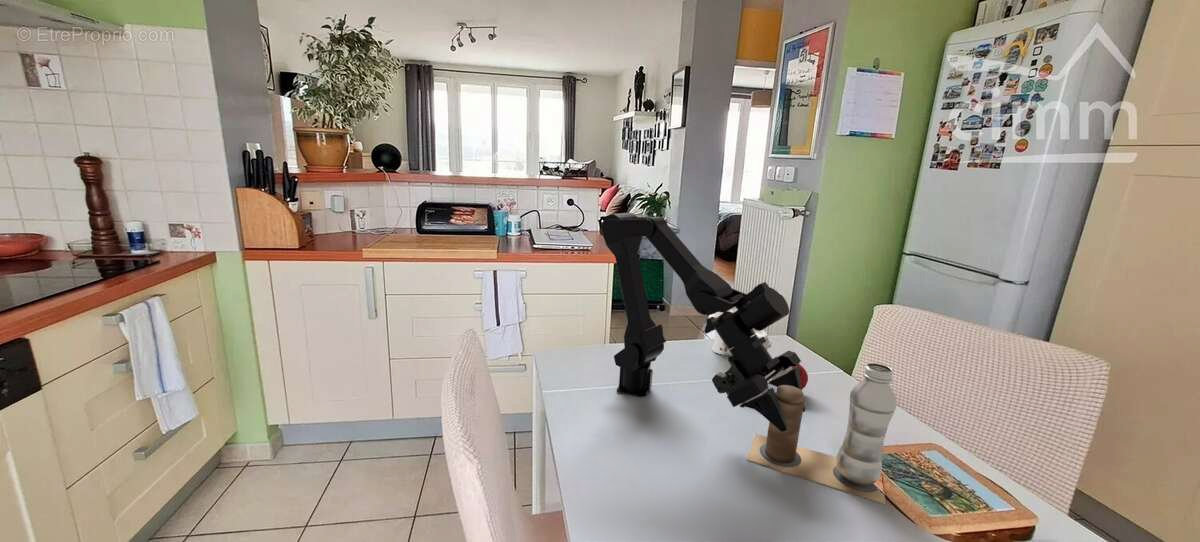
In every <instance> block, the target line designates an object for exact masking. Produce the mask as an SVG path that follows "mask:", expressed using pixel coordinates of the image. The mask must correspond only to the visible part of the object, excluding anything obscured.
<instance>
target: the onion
mask: <svg viewBox="0 0 1200 542" xmlns="http://www.w3.org/2000/svg"><path fill="white" fill-rule="evenodd" d="M797 366H799V367H800V369H799V372H800V380H801V387H802V390H803V389H804V388H806V386H807V384H808V381H809V375H808V372H807V371H806V369H805V368H804V366H803V365H801V363H798V364H797V365H796V366H791V367H792V368H795V367H797Z"/></svg>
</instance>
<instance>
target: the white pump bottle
mask: <svg viewBox="0 0 1200 542" xmlns="http://www.w3.org/2000/svg"><path fill="white" fill-rule="evenodd" d="M728 311H729V312H732V313H734V312H736V311H737V308H736V307H735V308H733V309H731V310H728ZM726 312H727V311H726ZM723 313H724V312H717V313H715V314H713V317H715V318H717V317H718V316H720V315H721V314H723ZM731 349H732V348H731ZM712 350H713V351H714V353H715V354H717V353H718V354H717V355H720V354H722V355H721V356H726V355H729V356H731V353H730V352H729V350H730V349H729V350H728V349H727V347H726V345H725V344H724V342H723V341H722V339H721V338H720V336H719V335H718V333H717V332H716V330H714V341H713V344H712V348H711V351H712ZM713 351H712V352H713Z"/></svg>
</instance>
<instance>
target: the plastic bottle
mask: <svg viewBox="0 0 1200 542" xmlns="http://www.w3.org/2000/svg"><path fill="white" fill-rule="evenodd" d="M863 377H864V378H863V379H862V380H860V381H859V382H858V383H857V384H855V385H854V386H853V388H852V390H851V391H850V392H849V393H850V394H849V410H848V411H849V413H848V421H847V427H846V431H845V435H844V438H843V441H842V443H841V446H840V447H839V450H838V453H837V454H836V455H837V456H835V457H836V466H837V469H838V471H839V473H840V474H841V476H842V477H844V478H845V479H846V480H848V481H850V482H852V483H855V484H858V485H871V484H873V483H875V482H876V481H877V480H878V479H879V477H880V475H881V472H882V473H883V471H882V470H883V450H884V449H883V448H884V441H885V438H886V434H887V430H888V428H889V426H890V423H891V420H892V419H893V416H894V414H895V411H896V409H897V406H898V401H897V396H896V394H895V392H894V391H893V389H892V387H891V385H890V384H891V383H892V381H893V369H892V368H891V367H890V366H887V365H885V364H882V363H876V362H868V363H866V365H865V370H864V372H863Z"/></svg>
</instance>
